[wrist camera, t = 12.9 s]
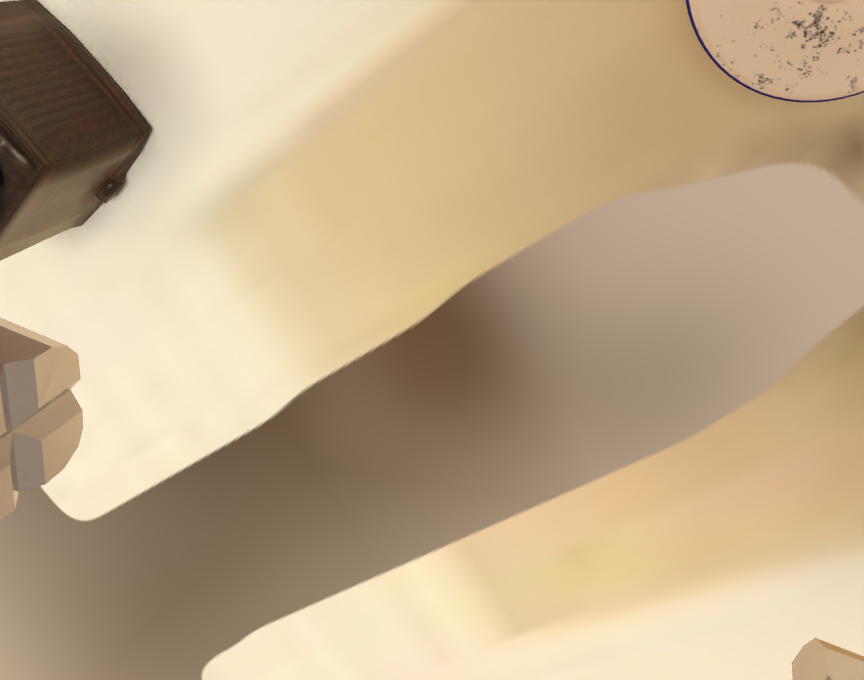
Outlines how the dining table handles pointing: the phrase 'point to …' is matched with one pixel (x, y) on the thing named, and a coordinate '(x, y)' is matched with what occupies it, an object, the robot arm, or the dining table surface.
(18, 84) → the brown wooden box
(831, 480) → the dining table surface
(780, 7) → the teacup with lid
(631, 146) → the dining table surface
